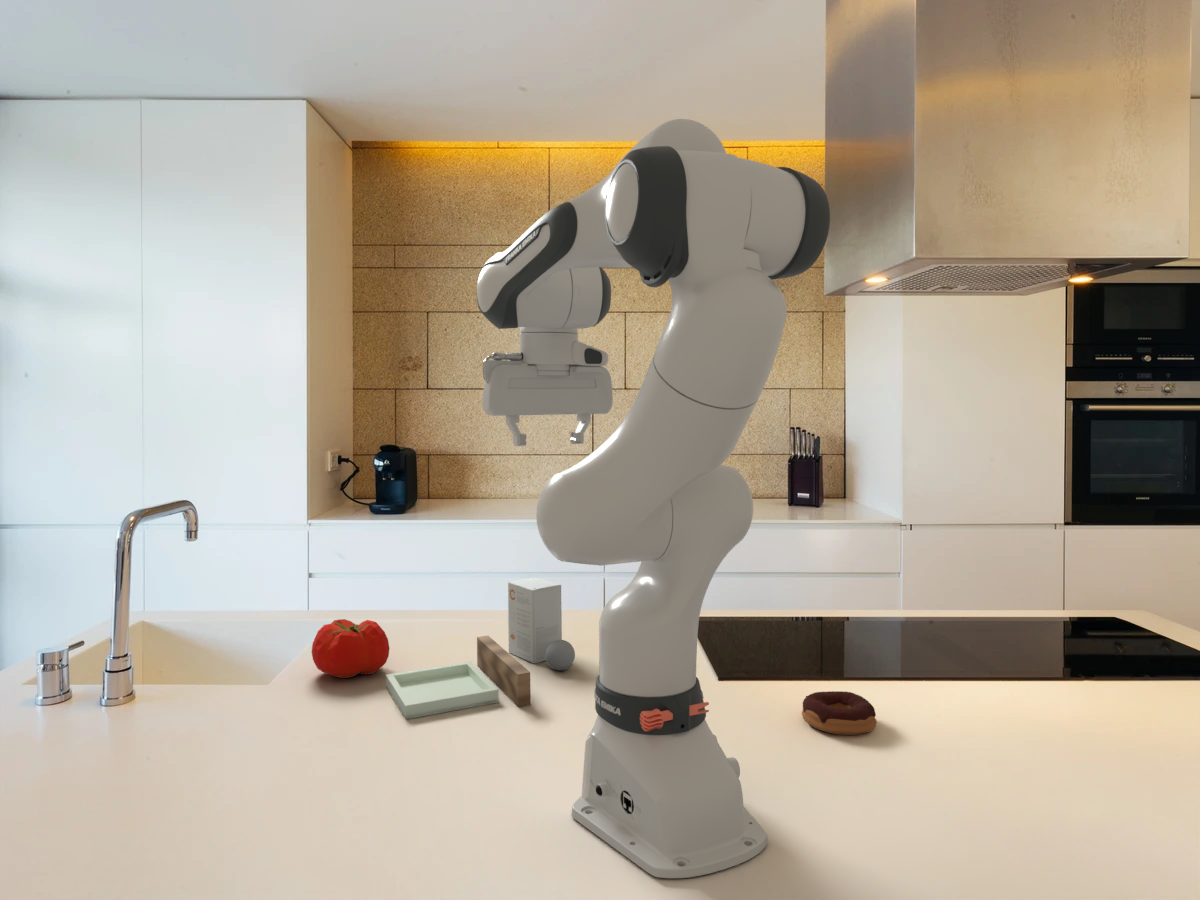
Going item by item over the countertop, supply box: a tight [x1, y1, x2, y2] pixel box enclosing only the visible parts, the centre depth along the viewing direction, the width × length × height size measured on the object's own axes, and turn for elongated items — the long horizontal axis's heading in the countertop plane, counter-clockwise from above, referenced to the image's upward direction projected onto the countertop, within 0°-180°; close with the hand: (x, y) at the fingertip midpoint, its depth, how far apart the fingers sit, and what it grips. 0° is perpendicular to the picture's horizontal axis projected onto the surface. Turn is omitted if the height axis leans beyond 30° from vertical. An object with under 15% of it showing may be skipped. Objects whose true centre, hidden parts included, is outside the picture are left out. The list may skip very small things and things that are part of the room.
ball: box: [545, 639, 576, 671], centre depth 135 cm, size 5×5×5 cm
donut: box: [801, 690, 878, 736], centre depth 113 cm, size 10×10×4 cm
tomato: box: [311, 618, 390, 679], centre depth 134 cm, size 13×12×8 cm
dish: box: [385, 660, 500, 720], centre depth 124 cm, size 14×14×2 cm
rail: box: [476, 635, 532, 708], centre depth 129 cm, size 20×2×5 cm, turn 26°
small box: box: [507, 576, 563, 664], centre depth 142 cm, size 8×6×13 cm
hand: (548, 444), depth 122 cm, fingers open, 8 cm apart
